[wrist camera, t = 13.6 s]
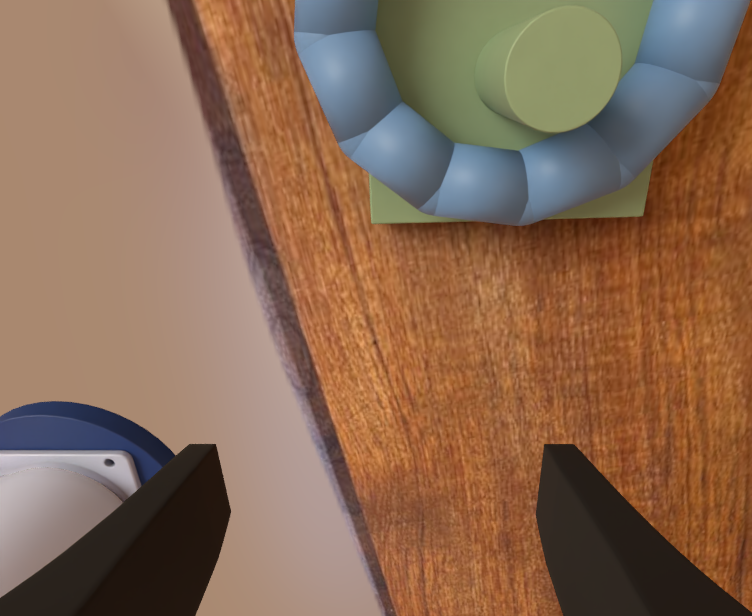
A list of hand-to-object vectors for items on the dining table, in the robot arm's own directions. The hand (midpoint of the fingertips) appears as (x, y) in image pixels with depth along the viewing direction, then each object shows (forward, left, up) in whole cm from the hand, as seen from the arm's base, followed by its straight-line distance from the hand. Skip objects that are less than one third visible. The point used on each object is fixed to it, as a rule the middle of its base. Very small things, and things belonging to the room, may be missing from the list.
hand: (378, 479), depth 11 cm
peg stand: (+4, +8, -9) cm, 13 cm away
